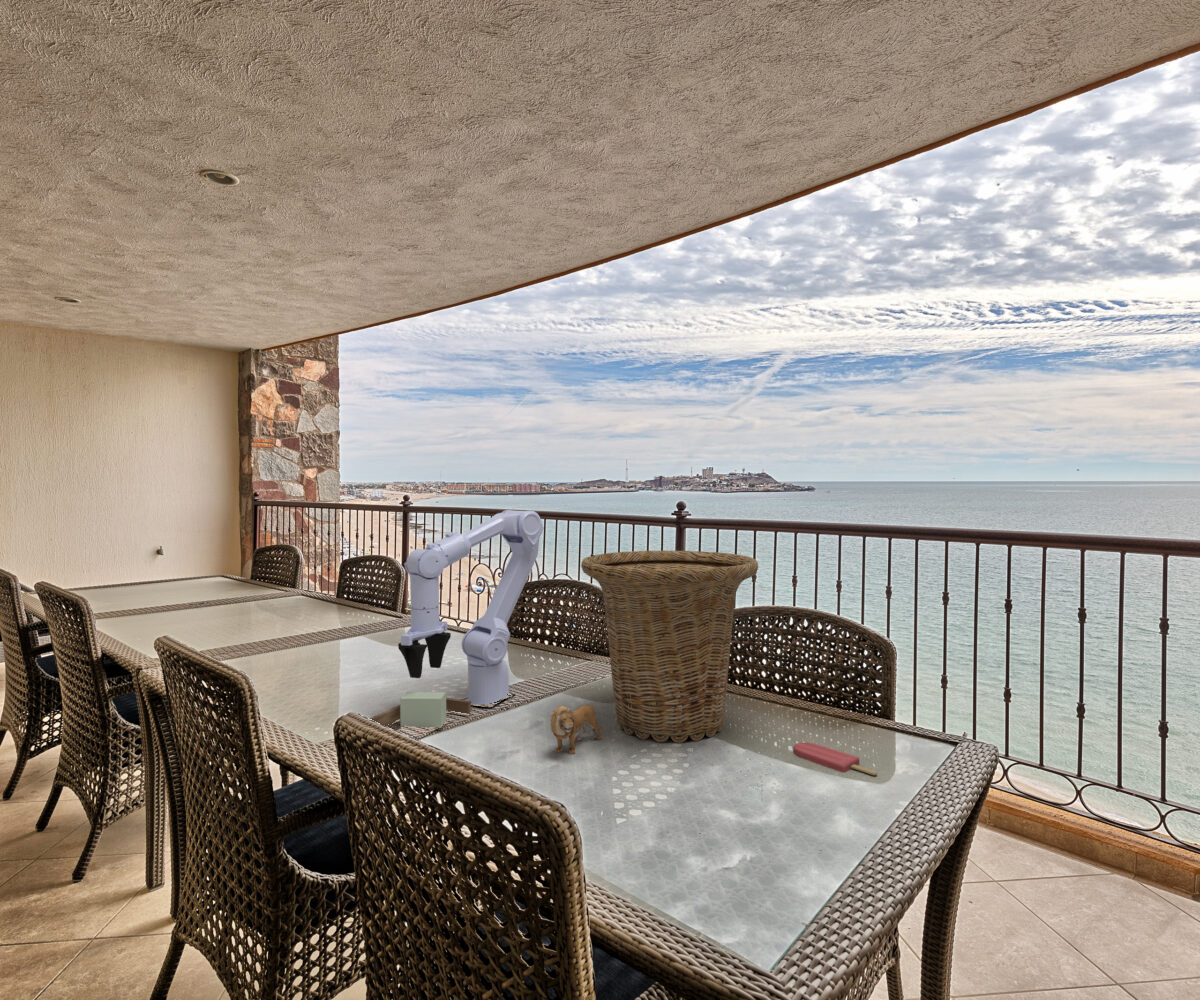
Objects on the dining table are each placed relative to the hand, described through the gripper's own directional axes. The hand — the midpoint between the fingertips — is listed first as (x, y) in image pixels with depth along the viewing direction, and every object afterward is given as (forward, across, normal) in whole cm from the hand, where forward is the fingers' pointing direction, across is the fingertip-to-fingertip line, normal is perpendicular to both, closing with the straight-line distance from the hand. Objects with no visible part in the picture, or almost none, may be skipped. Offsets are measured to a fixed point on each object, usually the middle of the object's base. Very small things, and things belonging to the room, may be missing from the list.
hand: (425, 672), depth 138 cm
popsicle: (+10, 0, -80) cm, 81 cm away
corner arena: (+9, -4, -1) cm, 10 cm away
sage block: (+9, -5, -3) cm, 11 cm away
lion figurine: (+10, -6, -35) cm, 37 cm away
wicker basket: (+10, +11, -49) cm, 51 cm away
